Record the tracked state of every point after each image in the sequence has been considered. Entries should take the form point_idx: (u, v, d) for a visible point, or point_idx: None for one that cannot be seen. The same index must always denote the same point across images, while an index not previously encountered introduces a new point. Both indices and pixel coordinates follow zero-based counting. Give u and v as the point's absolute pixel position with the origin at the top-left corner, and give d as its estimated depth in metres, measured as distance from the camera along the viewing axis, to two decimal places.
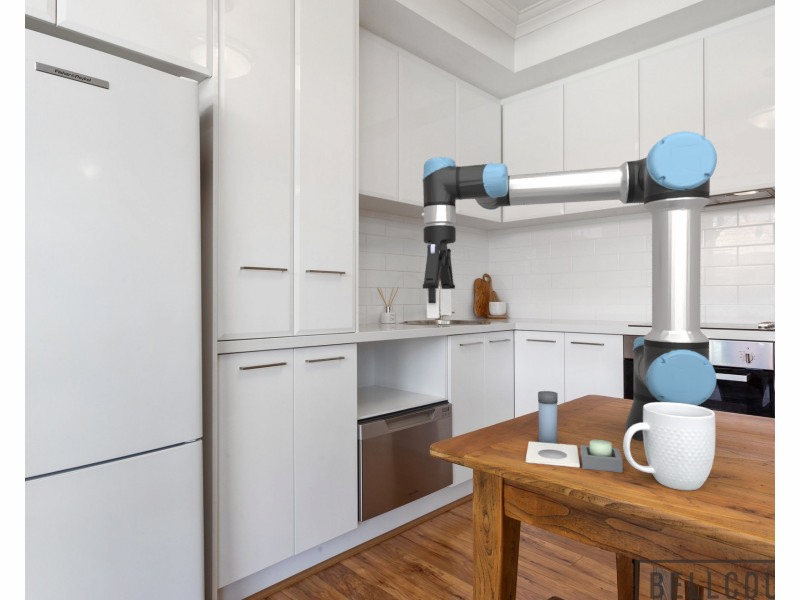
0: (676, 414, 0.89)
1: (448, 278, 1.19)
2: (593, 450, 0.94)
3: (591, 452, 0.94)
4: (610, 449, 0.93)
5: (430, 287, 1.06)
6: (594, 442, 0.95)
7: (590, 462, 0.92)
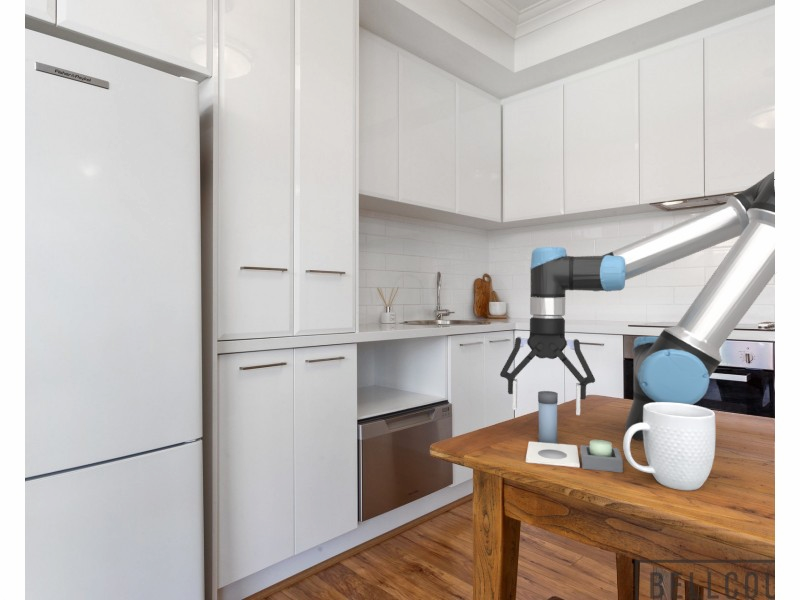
0: (676, 414, 0.89)
1: (571, 372, 1.07)
2: (593, 450, 0.94)
3: (591, 452, 0.94)
4: (610, 449, 0.93)
5: None
6: (594, 442, 0.95)
7: (590, 462, 0.92)
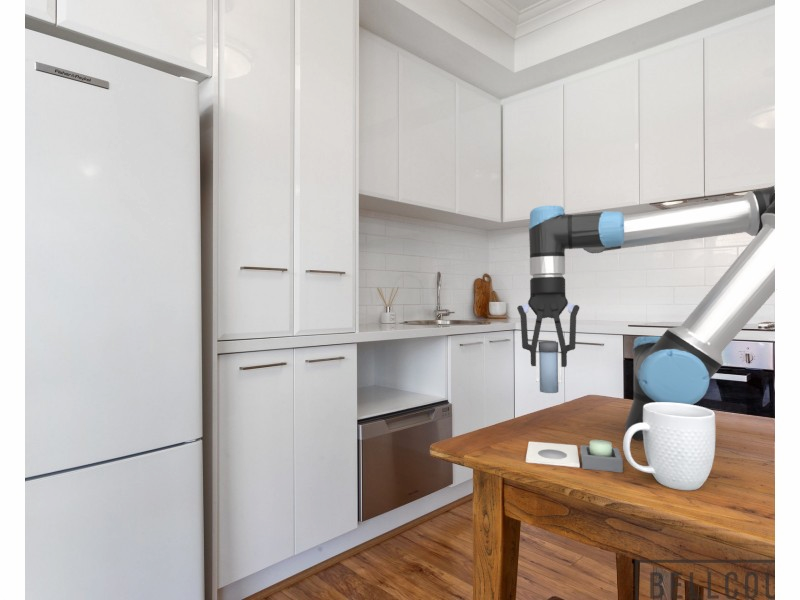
0: (676, 414, 0.89)
1: (558, 337, 1.07)
2: (593, 450, 0.94)
3: (591, 452, 0.94)
4: (610, 449, 0.93)
5: (529, 350, 1.10)
6: (594, 442, 0.95)
7: (590, 462, 0.92)
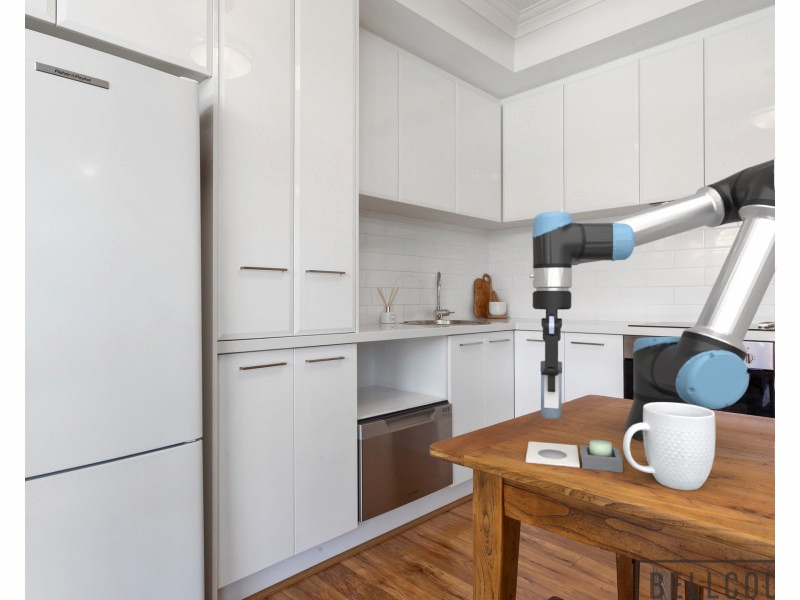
0: (676, 414, 0.89)
1: None
2: (593, 450, 0.94)
3: (591, 452, 0.94)
4: (610, 449, 0.93)
5: (550, 375, 0.95)
6: (594, 442, 0.95)
7: (590, 462, 0.92)
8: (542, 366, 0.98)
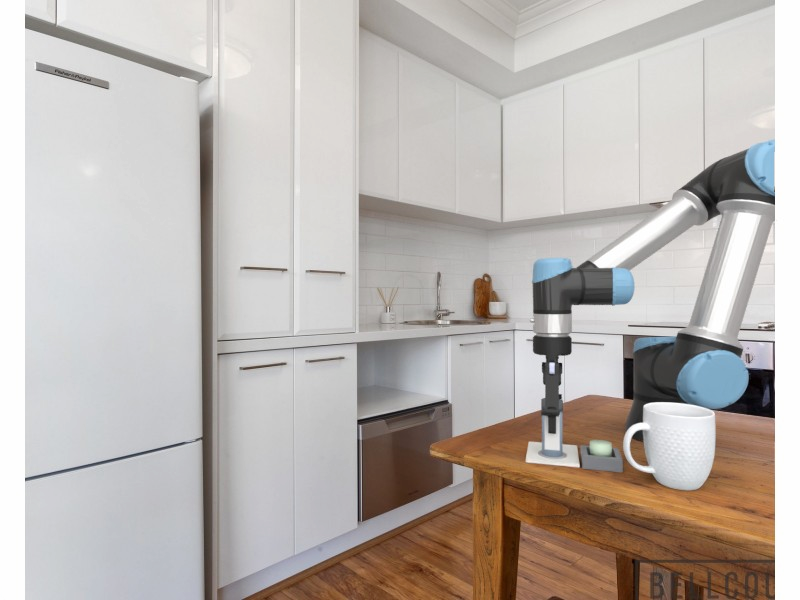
0: (676, 414, 0.89)
1: None
2: (593, 450, 0.94)
3: (591, 452, 0.94)
4: (610, 449, 0.93)
5: (551, 416, 0.90)
6: (594, 442, 0.95)
7: (590, 462, 0.92)
8: (543, 404, 0.98)
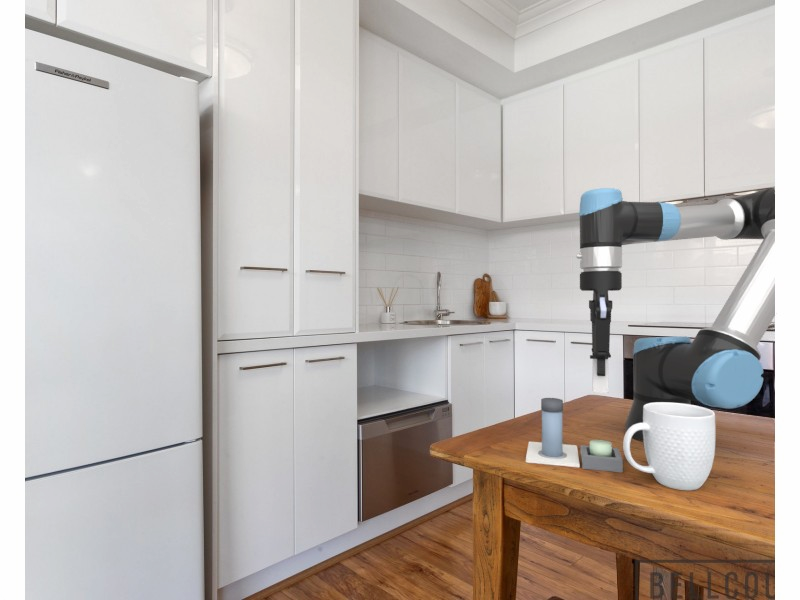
0: (676, 414, 0.89)
1: None
2: (593, 450, 0.94)
3: (591, 452, 0.94)
4: (610, 449, 0.93)
5: (600, 358, 0.92)
6: (594, 442, 0.95)
7: (590, 462, 0.92)
8: (543, 404, 0.98)
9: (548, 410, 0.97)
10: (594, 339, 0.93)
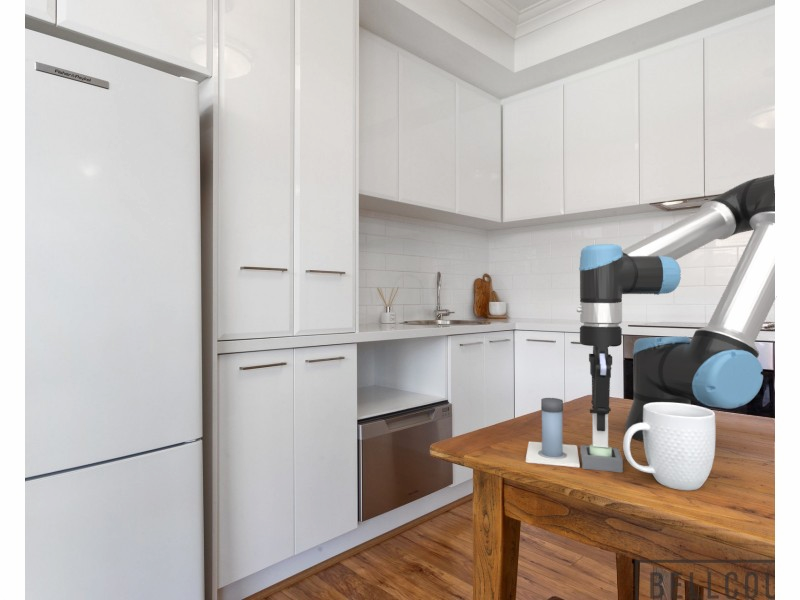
0: (676, 414, 0.89)
1: None
2: (593, 454, 0.94)
3: None
4: (610, 453, 0.93)
5: (600, 413, 0.92)
6: (594, 447, 0.95)
7: (590, 462, 0.92)
8: (543, 404, 0.98)
9: (548, 410, 0.97)
10: (594, 394, 0.93)
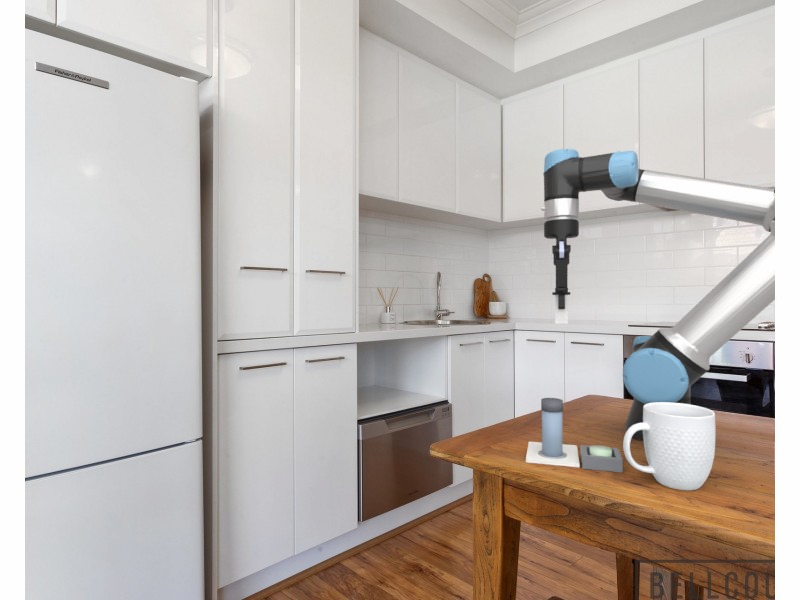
0: (676, 414, 0.89)
1: None
2: None
3: None
4: (610, 455, 0.93)
5: (561, 293, 1.09)
6: (594, 448, 0.95)
7: (590, 462, 0.92)
8: (543, 404, 0.98)
9: (548, 410, 0.97)
10: None
